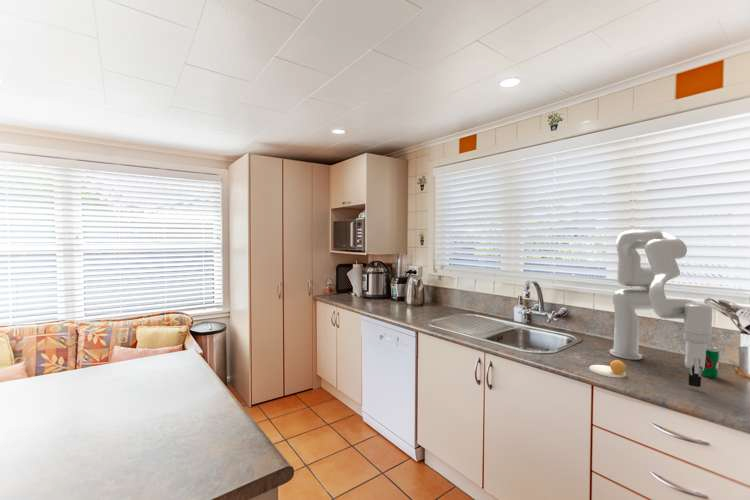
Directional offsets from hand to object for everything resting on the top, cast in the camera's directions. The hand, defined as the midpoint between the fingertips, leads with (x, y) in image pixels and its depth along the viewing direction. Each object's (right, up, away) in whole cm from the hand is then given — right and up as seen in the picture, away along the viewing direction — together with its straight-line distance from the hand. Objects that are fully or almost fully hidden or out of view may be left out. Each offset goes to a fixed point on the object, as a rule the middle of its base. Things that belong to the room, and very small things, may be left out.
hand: (694, 385), depth 129 cm
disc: (-21, -1, +17) cm, 27 cm away
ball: (-18, +2, +14) cm, 23 cm away
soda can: (+17, -1, +12) cm, 21 cm away
